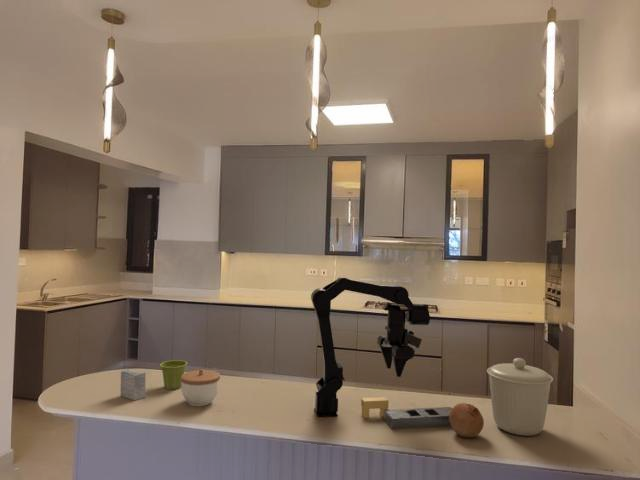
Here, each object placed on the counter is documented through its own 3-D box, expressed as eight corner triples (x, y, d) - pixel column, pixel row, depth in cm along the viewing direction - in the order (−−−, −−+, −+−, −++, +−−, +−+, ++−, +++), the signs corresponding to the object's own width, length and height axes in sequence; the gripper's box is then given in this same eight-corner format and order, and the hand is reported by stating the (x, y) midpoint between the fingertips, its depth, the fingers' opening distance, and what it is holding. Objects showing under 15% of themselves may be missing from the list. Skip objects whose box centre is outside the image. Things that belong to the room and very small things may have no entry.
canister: (561, 445, 122) (563, 368, 123) (492, 438, 126) (494, 364, 126) (540, 419, 140) (542, 353, 140) (480, 414, 143) (482, 349, 143)
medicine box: (145, 397, 152) (146, 372, 152) (134, 401, 148) (134, 375, 148) (131, 392, 156) (132, 368, 156) (119, 396, 152) (120, 371, 152)
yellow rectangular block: (363, 418, 138) (363, 401, 138) (360, 414, 141) (361, 398, 141) (388, 416, 140) (388, 400, 140) (385, 413, 143) (385, 397, 143)
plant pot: (179, 392, 158) (180, 367, 158) (154, 390, 159) (155, 366, 159) (190, 384, 167) (191, 361, 167) (167, 382, 168) (167, 359, 168)
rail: (391, 429, 131) (391, 418, 131) (384, 419, 137) (384, 409, 137) (461, 425, 134) (461, 415, 134) (450, 416, 141) (450, 406, 141)
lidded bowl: (200, 412, 140) (200, 377, 140) (172, 404, 146) (172, 370, 146) (227, 400, 151) (228, 368, 151) (200, 393, 157) (200, 362, 157)
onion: (478, 449, 125) (494, 423, 122) (448, 440, 125) (462, 414, 121) (469, 424, 134) (483, 399, 131) (440, 416, 133) (454, 390, 130)
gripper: (431, 330, 137) (429, 381, 136) (408, 319, 155) (406, 364, 155) (397, 329, 134) (394, 381, 134) (378, 319, 153) (375, 364, 153)
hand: (393, 372), depth 144 cm, fingers open, 9 cm apart
